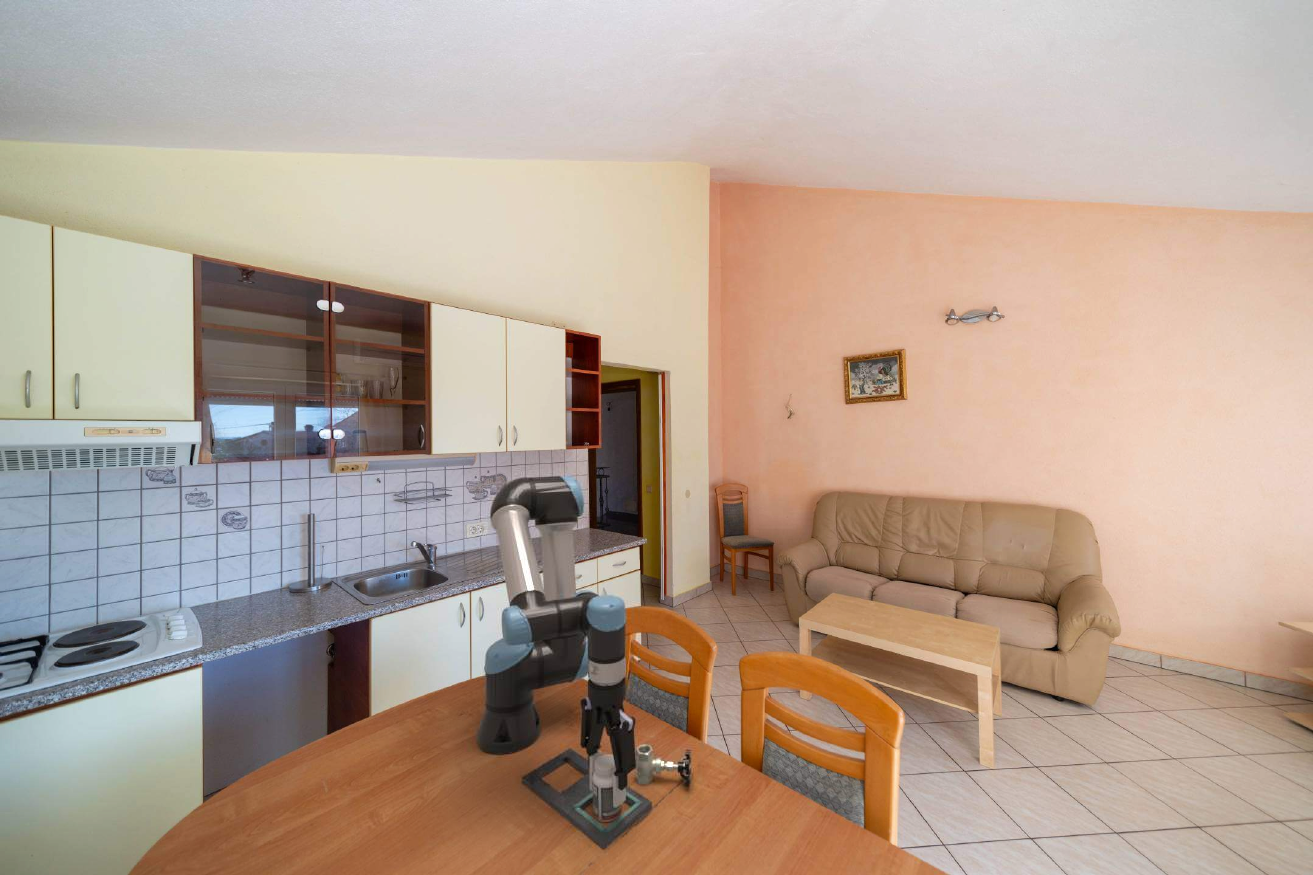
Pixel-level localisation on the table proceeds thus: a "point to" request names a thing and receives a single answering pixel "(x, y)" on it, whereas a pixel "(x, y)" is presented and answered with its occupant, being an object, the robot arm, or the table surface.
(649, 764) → the valve
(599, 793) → the pill bottle
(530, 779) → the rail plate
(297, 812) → the table surface
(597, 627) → the robot arm
